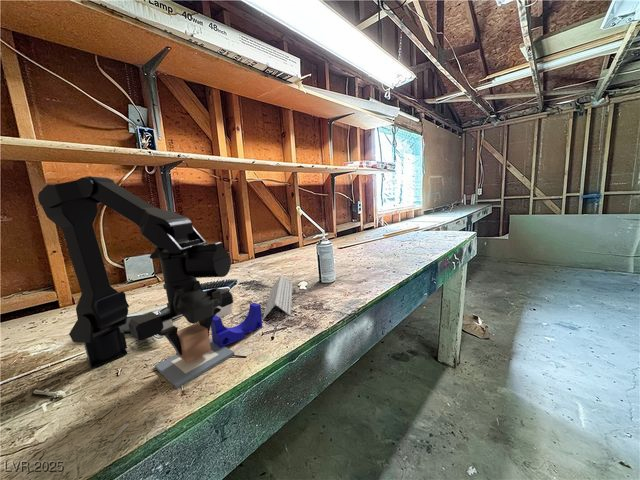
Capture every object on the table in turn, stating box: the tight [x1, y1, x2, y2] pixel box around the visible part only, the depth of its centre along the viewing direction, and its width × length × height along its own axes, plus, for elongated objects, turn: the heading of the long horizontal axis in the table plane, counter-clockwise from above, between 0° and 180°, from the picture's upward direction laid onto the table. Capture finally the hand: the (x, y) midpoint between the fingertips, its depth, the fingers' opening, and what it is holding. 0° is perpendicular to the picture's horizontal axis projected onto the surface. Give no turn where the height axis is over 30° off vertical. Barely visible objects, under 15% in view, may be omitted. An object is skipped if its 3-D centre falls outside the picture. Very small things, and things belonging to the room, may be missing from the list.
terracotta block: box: [175, 322, 211, 363], centre depth 53 cm, size 5×5×5 cm
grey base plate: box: [154, 337, 235, 389], centre depth 54 cm, size 12×11×1 cm
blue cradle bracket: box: [210, 302, 263, 348], centre depth 63 cm, size 12×4×6 cm, turn 135°
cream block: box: [215, 304, 233, 319], centre depth 77 cm, size 5×5×5 cm
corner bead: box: [262, 274, 293, 320], centre depth 86 cm, size 29×9×5 cm, turn 5°
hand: (193, 348), depth 54 cm, fingers closed on terracotta block, 5 cm apart
